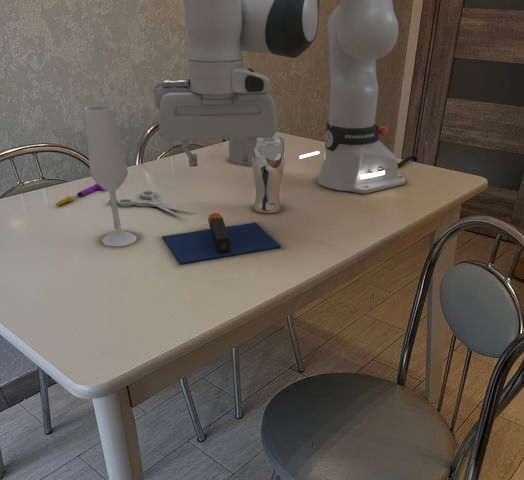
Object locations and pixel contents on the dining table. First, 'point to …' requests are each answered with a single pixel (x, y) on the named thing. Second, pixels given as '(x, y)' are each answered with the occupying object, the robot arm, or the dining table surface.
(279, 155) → the beer glass
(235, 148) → the lumpy-topped squat cylinder
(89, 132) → the champagne flute
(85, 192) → the purple and yellow rod
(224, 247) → the marker
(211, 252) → the mat
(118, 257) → the dining table surface
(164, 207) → the scissors
